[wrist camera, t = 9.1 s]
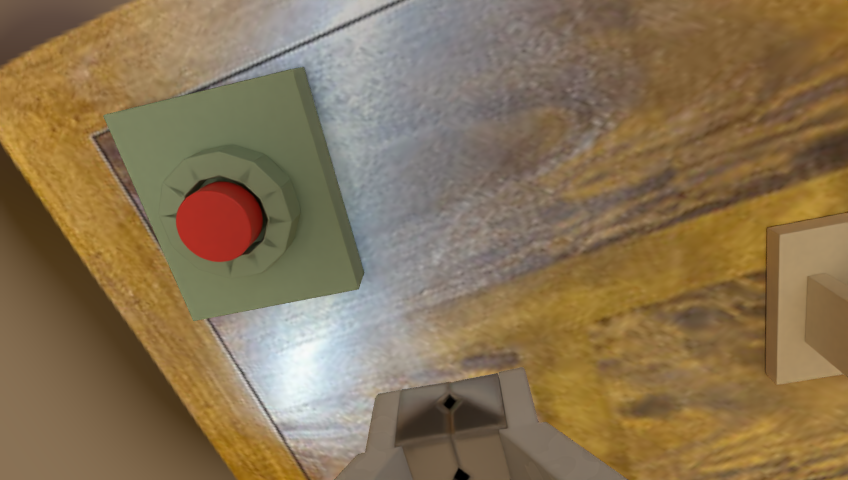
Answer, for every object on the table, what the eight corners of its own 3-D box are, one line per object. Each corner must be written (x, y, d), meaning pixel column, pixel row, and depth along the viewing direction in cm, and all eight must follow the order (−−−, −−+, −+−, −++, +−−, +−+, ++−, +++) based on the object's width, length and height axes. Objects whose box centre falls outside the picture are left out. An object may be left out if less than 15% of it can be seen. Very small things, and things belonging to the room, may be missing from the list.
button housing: (127, 109, 28) (78, 120, 24) (303, 66, 27) (281, 70, 23) (208, 303, 32) (178, 338, 28) (364, 272, 31) (353, 305, 27)
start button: (180, 189, 25) (163, 199, 24) (249, 174, 25) (235, 183, 23) (207, 255, 27) (192, 268, 25) (272, 241, 26) (261, 254, 25)
